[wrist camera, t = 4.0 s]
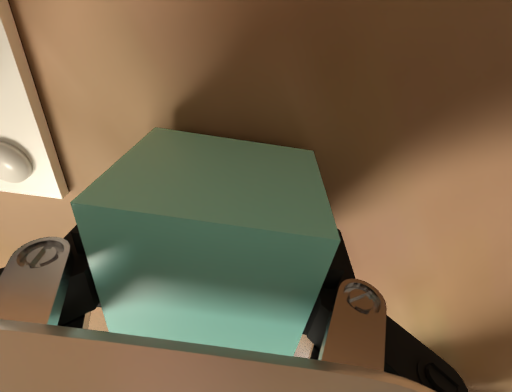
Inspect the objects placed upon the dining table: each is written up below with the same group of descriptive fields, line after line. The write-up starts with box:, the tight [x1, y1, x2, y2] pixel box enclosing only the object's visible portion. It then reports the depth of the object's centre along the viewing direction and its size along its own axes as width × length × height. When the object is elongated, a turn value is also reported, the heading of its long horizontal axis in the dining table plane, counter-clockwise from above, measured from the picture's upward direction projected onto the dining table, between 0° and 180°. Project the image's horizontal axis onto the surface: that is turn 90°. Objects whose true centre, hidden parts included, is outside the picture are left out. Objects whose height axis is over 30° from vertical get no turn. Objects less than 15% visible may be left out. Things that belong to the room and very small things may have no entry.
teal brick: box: [70, 127, 341, 356], centre depth 10 cm, size 6×6×5 cm
